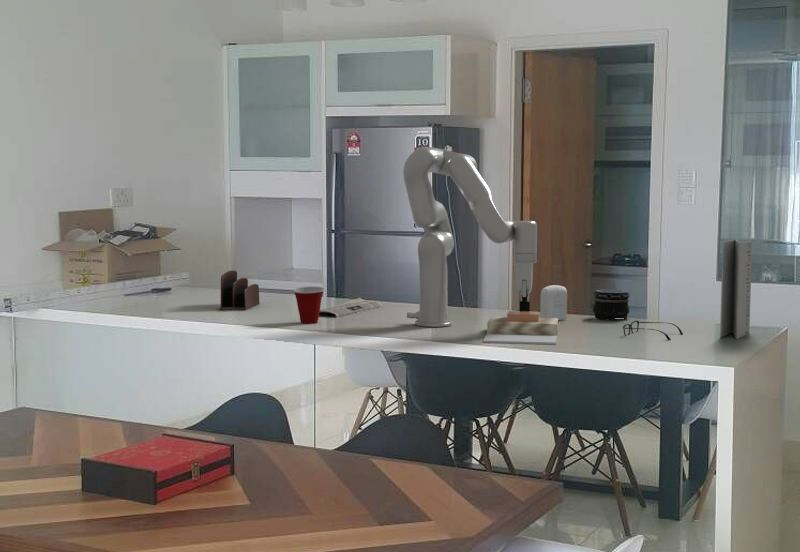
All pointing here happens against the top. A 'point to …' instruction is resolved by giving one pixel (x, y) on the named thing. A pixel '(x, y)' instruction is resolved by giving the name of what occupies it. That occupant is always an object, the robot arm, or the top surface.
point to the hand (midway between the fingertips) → (524, 313)
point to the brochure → (736, 288)
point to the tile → (523, 316)
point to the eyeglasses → (649, 329)
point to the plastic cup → (309, 303)
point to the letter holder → (237, 292)
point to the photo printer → (553, 302)
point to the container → (611, 304)
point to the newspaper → (351, 307)
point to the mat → (520, 339)
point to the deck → (522, 326)
